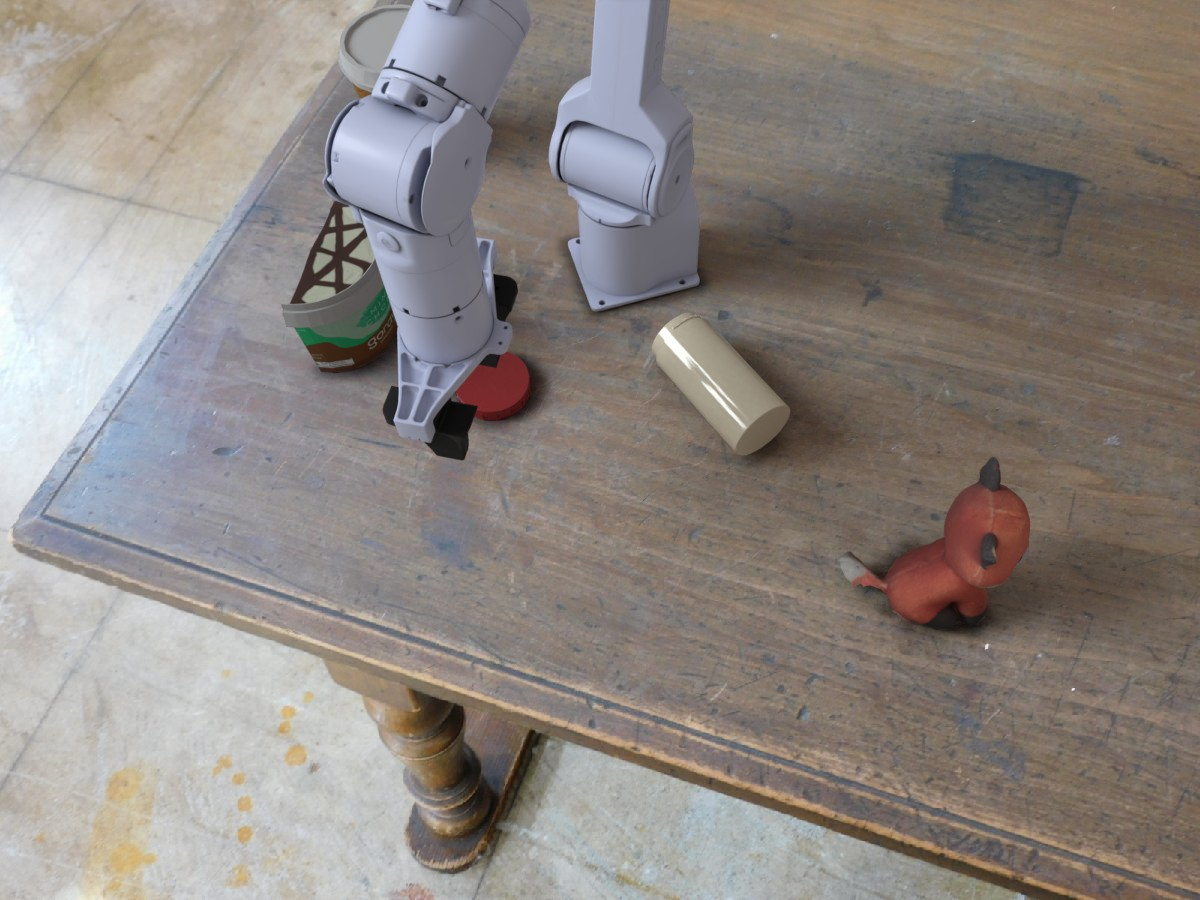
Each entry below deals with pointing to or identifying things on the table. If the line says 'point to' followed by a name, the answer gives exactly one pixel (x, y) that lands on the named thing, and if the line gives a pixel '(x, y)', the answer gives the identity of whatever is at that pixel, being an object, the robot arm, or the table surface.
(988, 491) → the stuffed fox
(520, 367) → the lid
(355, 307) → the food container
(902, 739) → the table surface
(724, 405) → the jar
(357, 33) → the disposable coffee cup
